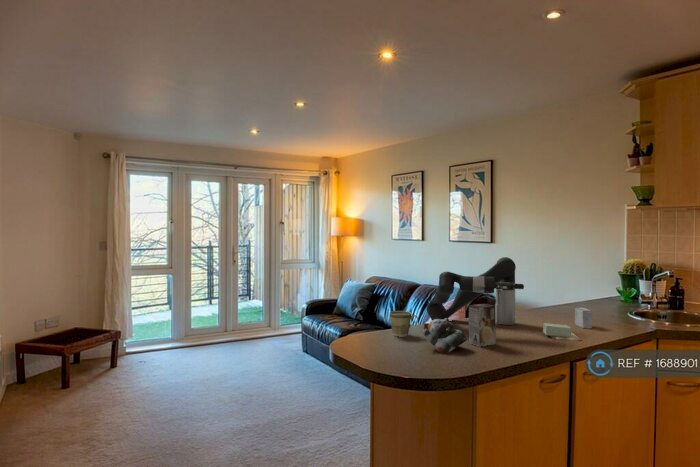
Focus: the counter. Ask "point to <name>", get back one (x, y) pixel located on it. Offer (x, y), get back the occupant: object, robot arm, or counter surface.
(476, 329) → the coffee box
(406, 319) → the ceramic cup
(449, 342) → the grey stuffed animal
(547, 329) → the sage block
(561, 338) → the beech board
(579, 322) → the medicine box
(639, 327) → the counter surface
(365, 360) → the counter surface
